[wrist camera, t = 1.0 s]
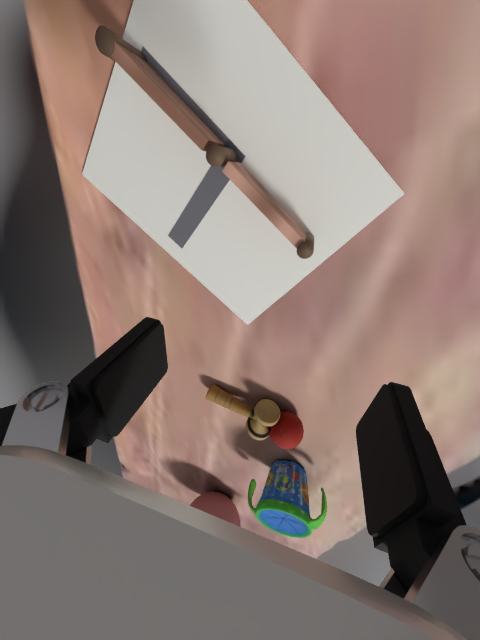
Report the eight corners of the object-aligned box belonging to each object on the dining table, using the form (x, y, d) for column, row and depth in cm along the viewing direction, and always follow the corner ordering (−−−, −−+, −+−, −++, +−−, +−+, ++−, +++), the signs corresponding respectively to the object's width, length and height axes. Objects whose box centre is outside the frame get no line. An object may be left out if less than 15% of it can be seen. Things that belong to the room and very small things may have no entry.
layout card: (166, -97, 18) (163, -103, 18) (403, 193, 23) (404, 193, 22) (84, 174, 31) (81, 174, 30) (248, 323, 35) (247, 325, 35)
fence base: (135, 45, 22) (98, 19, 18) (240, 157, 25) (226, 154, 21) (129, 65, 23) (92, 44, 19) (231, 171, 25) (215, 170, 22)
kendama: (213, 396, 49) (295, 440, 45) (197, 416, 43) (290, 469, 39) (222, 366, 46) (312, 411, 42) (206, 384, 40) (308, 438, 36)
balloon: (257, 521, 71) (245, 595, 59) (196, 496, 74) (171, 562, 62) (267, 500, 63) (254, 582, 50) (196, 473, 66) (168, 544, 53)
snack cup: (258, 475, 57) (248, 527, 49) (249, 449, 53) (236, 501, 44) (327, 487, 52) (329, 547, 44) (324, 458, 47) (325, 520, 39)
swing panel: (233, 173, 25) (218, 174, 22) (242, 160, 24) (229, 157, 21) (306, 250, 27) (304, 262, 24) (317, 239, 26) (317, 250, 23)
